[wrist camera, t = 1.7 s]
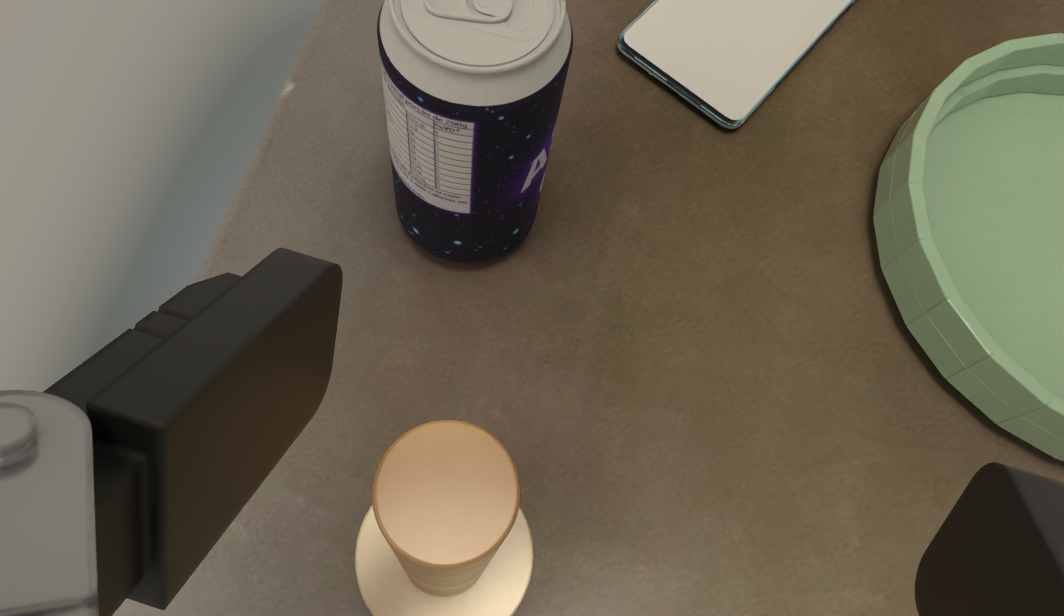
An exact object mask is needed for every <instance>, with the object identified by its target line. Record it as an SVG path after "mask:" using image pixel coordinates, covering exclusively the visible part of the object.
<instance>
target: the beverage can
mask: <svg viewBox="0 0 1064 616" xmlns="http://www.w3.org/2000/svg"><path fill="white" fill-rule="evenodd" d="M377 36H378V45H379V54H380V63H381V73H382V82H383V91H384V100H385V109H386V118H387V127H388V136H389V145H390V154H391V163H392V172H393V181H394V190H395V199H396V207H397V212H398V216H399V219H400V221H401V223H402V225H403V227H404V229H405V230H406V232H407V233H408V235H409V236H410V237H411V238H412V239H413V240H414V241H415V242H416V243H417V244H418V245H419V246H421V247H422V248H423V249H425V250H426V251H428V252H430V253H431V254H433V255H436V256H438V257H440V258H443V259H447V260H450V261H456V262H466V263H471V262H481V261H486V260H490V259H493V258H496V257H499V256H501V255H503V254H505V253H507V252H508V251H510V250H511V249H513V248H514V247H515V246H517V245H518V244H519V243H520V242H521V241H522V240H523V239H524V237H525V236H526V235H527V233H528V232H529V230H530V228H531V226H532V224H533V222H534V219H535V216H536V211H537V207H538V202H539V197H540V193H541V188H542V184H543V179H544V175H545V170H546V166H547V161H548V157H549V152H550V148H551V143H552V139H553V134H554V130H555V125H556V121H557V116H558V112H559V107H560V103H561V98H562V94H563V89H564V85H565V80H566V76H567V71H568V67H569V62H570V58H571V53H572V47H573V31H572V25H571V22H570V18H569V16H568V13H567V11H566V1H565V0H384V2H383V5H382V7H381V10H380V13H379V17H378V23H377Z"/></svg>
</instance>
